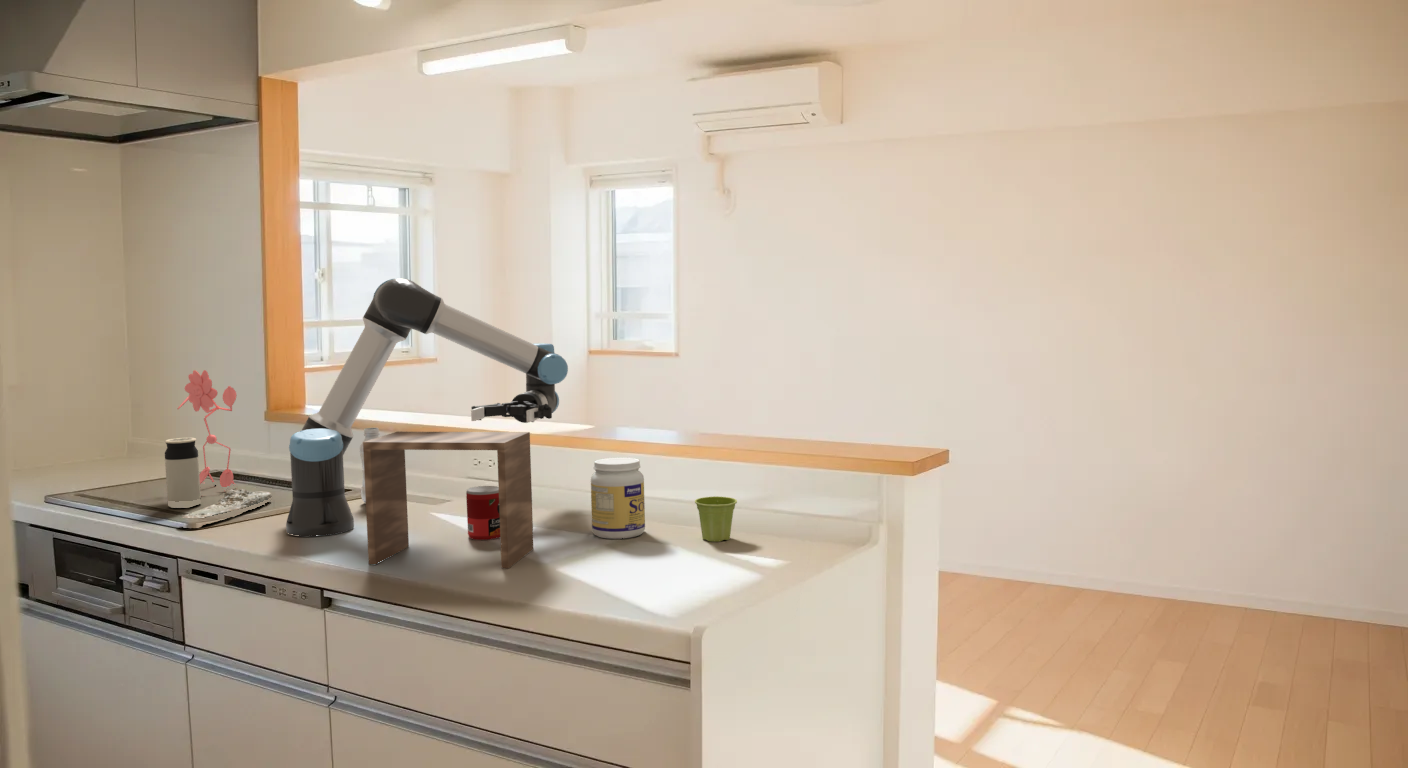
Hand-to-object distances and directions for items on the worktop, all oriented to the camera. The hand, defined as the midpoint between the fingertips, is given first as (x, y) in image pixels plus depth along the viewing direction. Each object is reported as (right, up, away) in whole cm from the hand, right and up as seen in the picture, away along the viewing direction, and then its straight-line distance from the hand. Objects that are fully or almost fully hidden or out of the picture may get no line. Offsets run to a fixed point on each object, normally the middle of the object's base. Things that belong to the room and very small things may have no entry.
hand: (500, 415), depth 255 cm
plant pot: (+51, -27, -15) cm, 60 cm away
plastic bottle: (-40, -24, +33) cm, 57 cm away
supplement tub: (+29, -27, -8) cm, 40 cm away
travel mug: (-90, -25, +33) cm, 99 cm away
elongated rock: (-74, -26, +22) cm, 81 cm away
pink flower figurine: (-95, -23, +55) cm, 112 cm away
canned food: (-2, -27, -8) cm, 29 cm away
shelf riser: (-5, -29, -27) cm, 40 cm away
